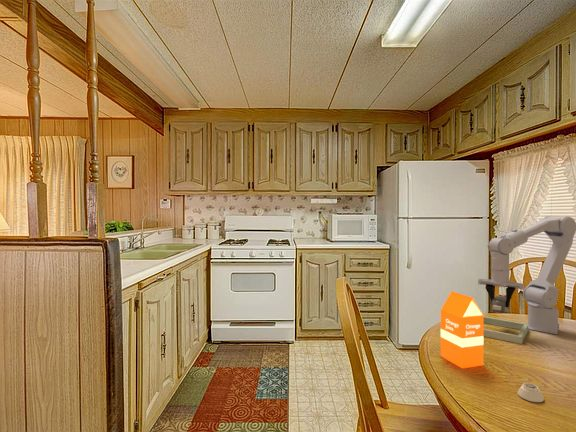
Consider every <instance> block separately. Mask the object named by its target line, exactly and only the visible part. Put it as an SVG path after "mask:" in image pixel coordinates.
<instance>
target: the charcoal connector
mask: <svg viewBox="0 0 576 432" xmlns="http://www.w3.org/2000/svg"><path fill="white" fill-rule="evenodd" d="M508 309H509V307H506V295H505V296H503V295H495V298H494V299H493V300H492V303H491V311H492V312H494V313H497V314H505V313H506V312H507V311H508Z"/></svg>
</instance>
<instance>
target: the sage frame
mask: <svg viewBox="0 0 576 432" xmlns="http://www.w3.org/2000/svg"><path fill="white" fill-rule="evenodd" d="M483 324H488V325H492V326H498V327H503V328H509V329H513V330H520V331H519V333H518V334H513V333H507V332H503V331H497V330H493V329H487V328H483V336H484V337H487V338H489V339H490V338H491V339H494V340H499V341H504V342H508V343H514V344H518V345H523V343H524V340H525V338H526V337H527V335H528V332H529V329H528V323H525V322H518V321H513V320H506V319H502V318H496V317H490V316H484V315H483Z"/></svg>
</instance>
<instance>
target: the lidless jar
mask: <svg viewBox="0 0 576 432" xmlns="http://www.w3.org/2000/svg"><path fill="white" fill-rule="evenodd" d="M517 395H518V396H519V397H520V398H522V399H524V400H526V401H529V402H532V403H542V402H544V400H545V398H544V395H543V393H542V392H541V390H540V388H539V387H538V385H537V384H534V383H531V382H524V383H522V385H521V386H520V388H519V389H518V390H517Z"/></svg>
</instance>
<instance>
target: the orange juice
mask: <svg viewBox="0 0 576 432" xmlns="http://www.w3.org/2000/svg"><path fill="white" fill-rule="evenodd" d="M483 316H484V314H483V312H482V310H481V309H480V308H479V306H478V304H477V303H476V300H475V299H474V298H473V296H469V295H465V294H462V293H458V292H455V291H450V293H449V295H448V297H447V298H446V301H444V304H443V305H442V307H441V309H440V357H442V358H443V359H445V360H447V361H449V362H450V363H452V364H454V365H456V366H457V367H459V368H460V369H466V368H467V369H468V368H473V367H480V366H484V342H485V341H484V337H485V336H483V329H484V323H483Z"/></svg>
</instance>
